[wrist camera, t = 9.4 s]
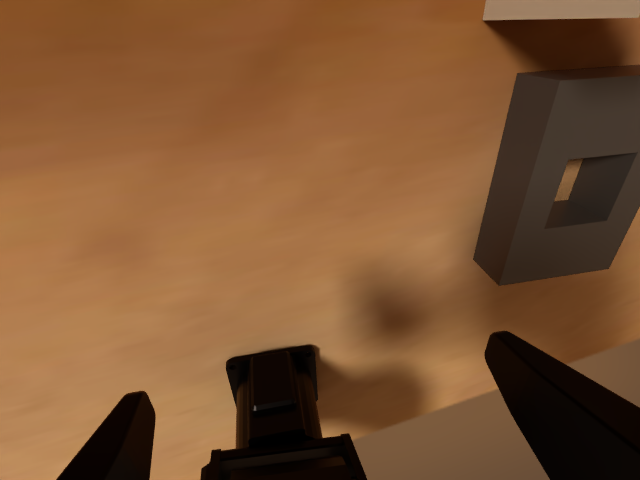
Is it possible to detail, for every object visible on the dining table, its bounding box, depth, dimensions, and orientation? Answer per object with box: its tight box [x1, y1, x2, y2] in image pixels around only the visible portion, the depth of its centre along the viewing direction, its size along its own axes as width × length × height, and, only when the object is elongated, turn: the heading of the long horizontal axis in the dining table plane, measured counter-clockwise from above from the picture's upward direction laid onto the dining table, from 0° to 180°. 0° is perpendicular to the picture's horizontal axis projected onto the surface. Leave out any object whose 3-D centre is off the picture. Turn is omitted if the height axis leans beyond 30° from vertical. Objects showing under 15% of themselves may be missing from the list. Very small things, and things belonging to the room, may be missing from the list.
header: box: [473, 65, 640, 286], centre depth 21 cm, size 12×8×3 cm, turn 2°
